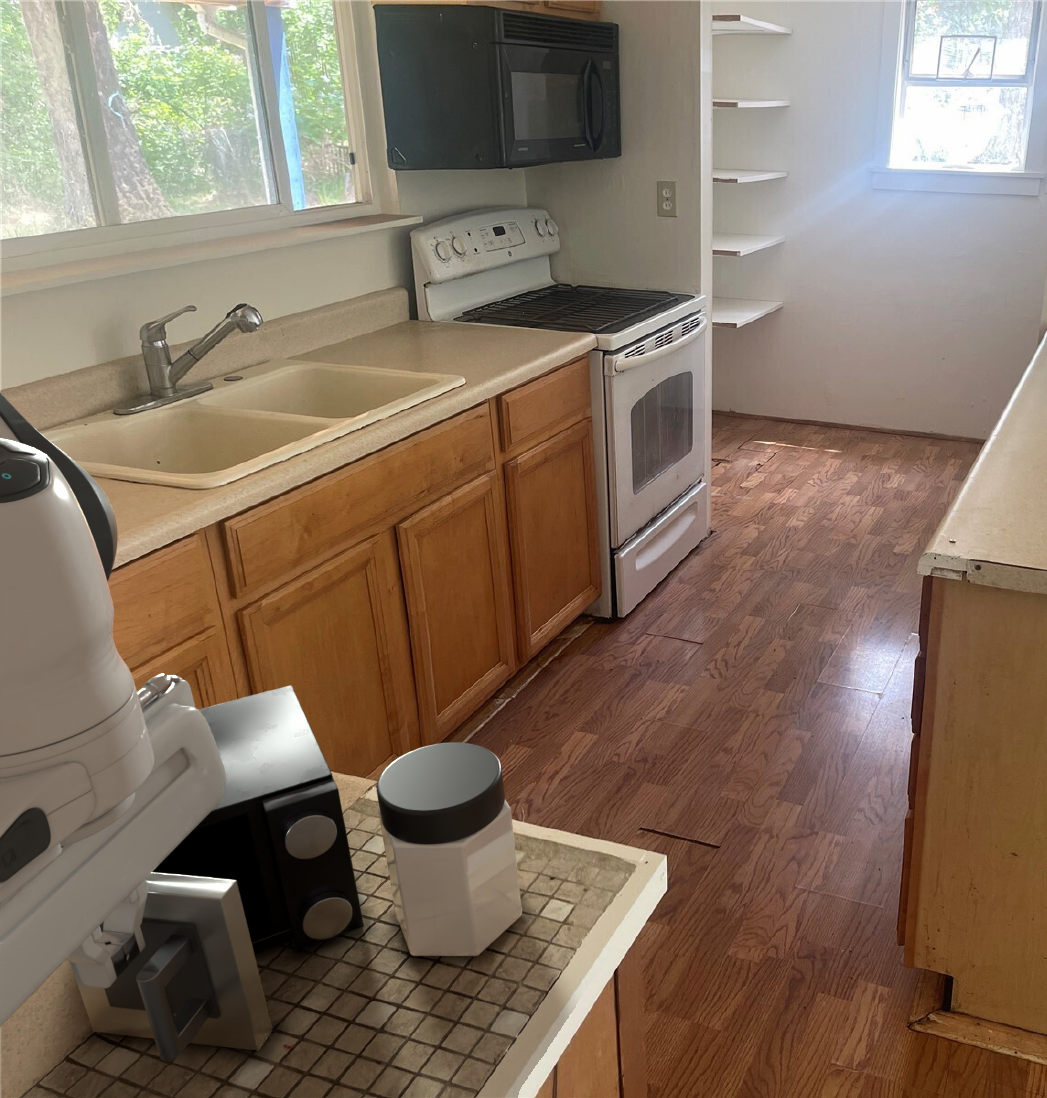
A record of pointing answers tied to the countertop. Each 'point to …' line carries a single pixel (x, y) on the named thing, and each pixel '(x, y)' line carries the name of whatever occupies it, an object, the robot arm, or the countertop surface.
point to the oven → (275, 826)
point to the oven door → (187, 972)
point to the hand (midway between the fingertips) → (115, 967)
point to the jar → (449, 848)
